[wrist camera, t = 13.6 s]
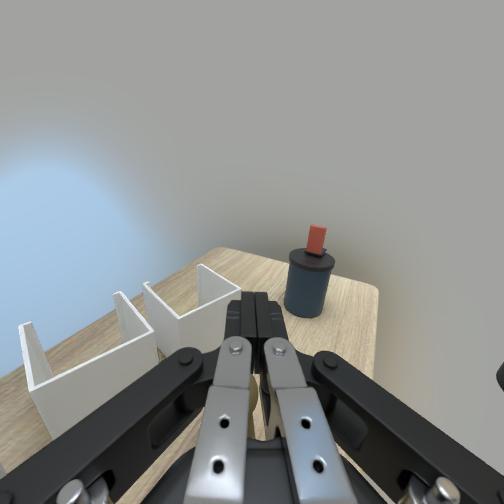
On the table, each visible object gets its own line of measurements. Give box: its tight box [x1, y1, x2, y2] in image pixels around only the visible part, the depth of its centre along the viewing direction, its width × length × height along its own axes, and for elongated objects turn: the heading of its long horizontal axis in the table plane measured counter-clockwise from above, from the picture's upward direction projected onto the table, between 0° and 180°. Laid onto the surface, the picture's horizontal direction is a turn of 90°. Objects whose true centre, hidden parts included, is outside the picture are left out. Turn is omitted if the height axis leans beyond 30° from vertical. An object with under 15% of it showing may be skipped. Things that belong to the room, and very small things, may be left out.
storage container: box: [18, 264, 242, 440], centre depth 34 cm, size 25×11×11 cm, turn 136°
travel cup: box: [284, 248, 335, 318], centre depth 49 cm, size 9×9×12 cm
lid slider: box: [304, 225, 327, 257], centre depth 48 cm, size 4×4×6 cm
